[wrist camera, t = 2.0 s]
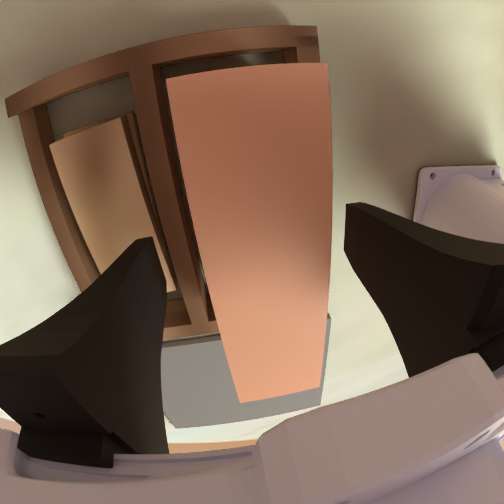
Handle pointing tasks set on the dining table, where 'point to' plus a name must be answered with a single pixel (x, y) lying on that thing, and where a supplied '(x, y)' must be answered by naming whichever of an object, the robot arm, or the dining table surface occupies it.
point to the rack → (146, 148)
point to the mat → (218, 386)
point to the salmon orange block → (261, 214)
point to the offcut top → (109, 192)
